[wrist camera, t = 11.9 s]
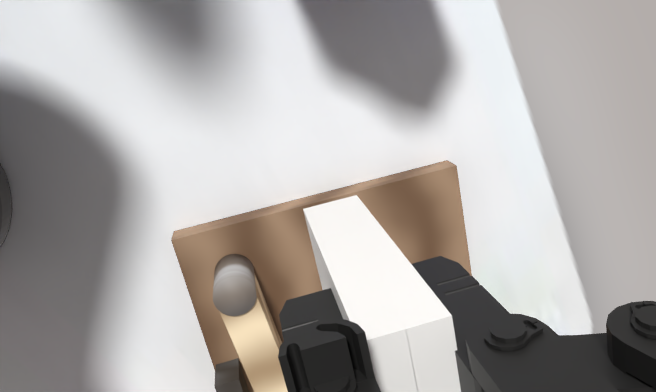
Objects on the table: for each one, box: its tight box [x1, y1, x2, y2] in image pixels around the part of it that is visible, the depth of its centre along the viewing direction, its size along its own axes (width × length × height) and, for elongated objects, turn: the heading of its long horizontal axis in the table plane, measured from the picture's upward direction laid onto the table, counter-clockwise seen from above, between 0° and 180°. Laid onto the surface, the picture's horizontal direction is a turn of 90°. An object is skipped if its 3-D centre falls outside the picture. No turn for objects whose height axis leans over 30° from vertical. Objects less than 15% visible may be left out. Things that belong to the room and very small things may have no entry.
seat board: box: [171, 161, 472, 392], centre depth 46 cm, size 24×20×5 cm
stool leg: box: [213, 254, 288, 392], centre depth 44 cm, size 16×3×4 cm, turn 17°
